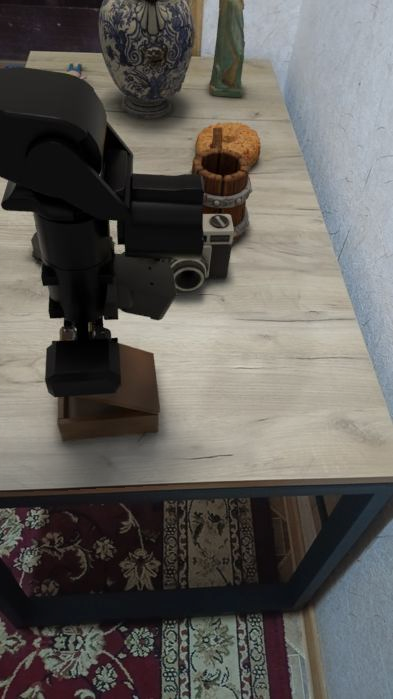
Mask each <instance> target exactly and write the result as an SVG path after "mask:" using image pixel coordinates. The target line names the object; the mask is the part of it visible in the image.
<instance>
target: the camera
mask: <svg viewBox="0 0 393 699" xmlns="http://www.w3.org/2000/svg"><path fill="white" fill-rule="evenodd" d="M203 233H204V246H203V253H202V257H201V260H180V259H168V265H170V266H171V268H172V269H173V274H174V280H175V286H176V289H178V290H180V291H184V292H189V291H194V290H196V289H199V288H200V287H201V286H202V285H203V284H204V282H205V281H206V280H219V279H227V277H228V272H229V264H230V260H231V253H232V247H233V242H234V241H233V235H234V227H233V223H232V218H231V215H229V214H203ZM161 260H163V259H161Z"/></svg>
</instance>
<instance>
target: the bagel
mask: <svg viewBox="0 0 393 699" xmlns="http://www.w3.org/2000/svg"><path fill="white" fill-rule="evenodd" d="M214 127H221V128H222V136H223V137H222V149H229V150H232V151H235V152H237V153H239V154H240V155H242V158H245V159H246V160H247V161H248V164H249V169H250V168H251V167H253V165H255V163H256V162H257V161H258V159H259V156H260V155H261V147H262V146H261V138H260V137H259V135H258V132H257V131H256V130H255V129H252V128H251V127H250V126H248V125H246V124H244V123H243V122H239V121H236V122H231V121H230V122H229V121H227V122H223V123H221V122H218V123H216V124H211V125H208V126H207V127H204V129H202V130H201V131H200V132H199V133H198V135H196V136H195V137H196V141H195V144H194V146H195V153H196V155H197V154H199V153H200V152H202V151H204V150H207V149H210V144H211V143H212V140H213V128H214Z"/></svg>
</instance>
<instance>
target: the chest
mask: <svg viewBox="0 0 393 699" xmlns="http://www.w3.org/2000/svg"><path fill="white" fill-rule="evenodd" d="M159 414H160V413H158V414H152V413H147V412H143V411H138V410H134V409H129V408H125V407H120V406H116V405H111V404H107V403H102V402H98V401H93V400H89V399H84V398H80V397H75V396H69V397H57V419H56V420H57V422H56V423H57V424H56V425H57V427H58V430H59V431H58V432H59V434H60V437H61V441H62V442H70V441H81V440H90V439H100V438H102V439H103V438H112V437H121V436H122V437H123V436H132V435H142V434H153V433H154V434H155V433H159V424H160V423H159V420H160V419H159V418H160V415H159Z"/></svg>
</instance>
